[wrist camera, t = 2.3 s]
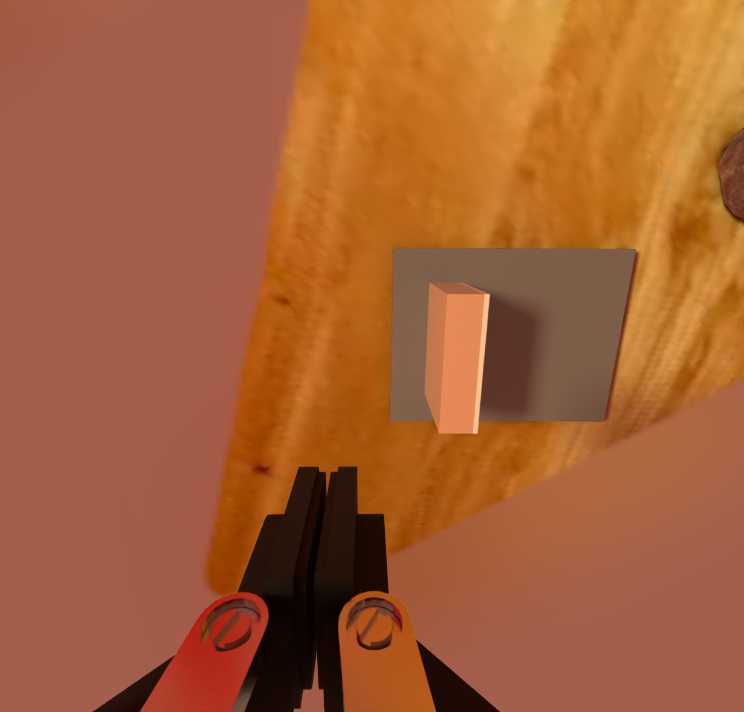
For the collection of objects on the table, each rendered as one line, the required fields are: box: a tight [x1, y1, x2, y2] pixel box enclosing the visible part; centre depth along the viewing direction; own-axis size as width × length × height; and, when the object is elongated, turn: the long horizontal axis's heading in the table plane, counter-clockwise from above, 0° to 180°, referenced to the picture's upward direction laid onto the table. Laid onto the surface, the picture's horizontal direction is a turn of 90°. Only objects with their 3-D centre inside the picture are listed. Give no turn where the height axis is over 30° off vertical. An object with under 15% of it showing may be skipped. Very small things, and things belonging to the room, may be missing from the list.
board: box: [390, 248, 636, 421], centre depth 31 cm, size 18×14×1 cm
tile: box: [425, 282, 490, 433], centre depth 27 cm, size 2×9×7 cm, turn 0°
